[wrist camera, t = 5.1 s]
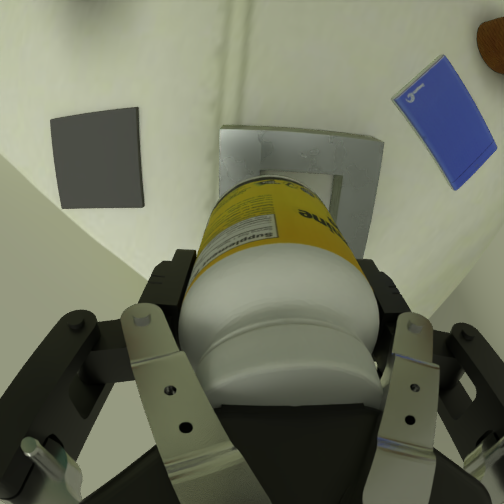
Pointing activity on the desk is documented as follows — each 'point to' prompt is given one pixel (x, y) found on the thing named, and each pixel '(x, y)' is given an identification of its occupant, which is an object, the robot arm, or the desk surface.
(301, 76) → the desk surface
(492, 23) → the disposable coffee cup
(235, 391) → the pill bottle
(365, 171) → the block
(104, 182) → the pad
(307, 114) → the desk surface
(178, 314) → the robot arm
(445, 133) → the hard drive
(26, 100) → the desk surface
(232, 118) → the desk surface
